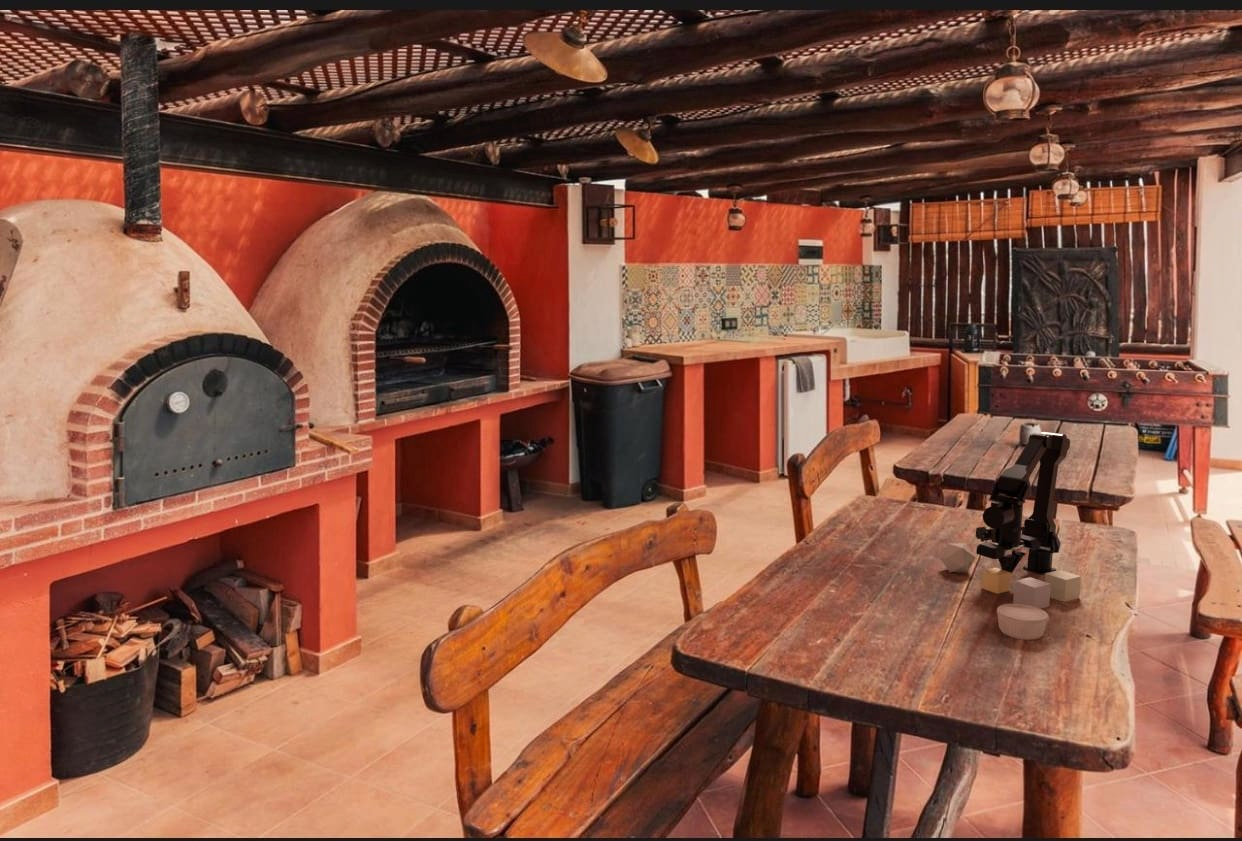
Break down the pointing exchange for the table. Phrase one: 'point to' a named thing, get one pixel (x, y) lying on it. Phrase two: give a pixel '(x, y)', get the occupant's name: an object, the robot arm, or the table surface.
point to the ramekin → (1022, 621)
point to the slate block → (1032, 592)
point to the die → (957, 557)
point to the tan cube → (1063, 585)
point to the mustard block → (996, 580)
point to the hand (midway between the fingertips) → (1006, 577)
